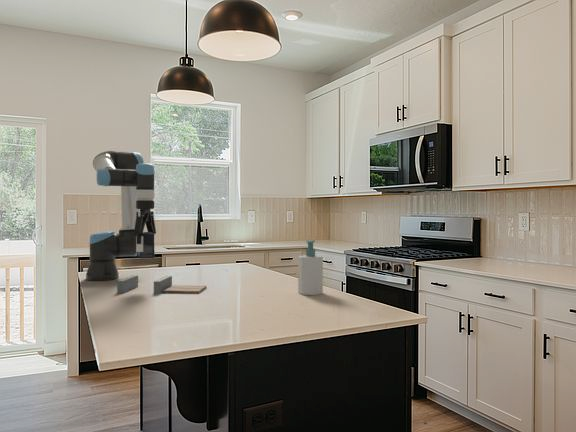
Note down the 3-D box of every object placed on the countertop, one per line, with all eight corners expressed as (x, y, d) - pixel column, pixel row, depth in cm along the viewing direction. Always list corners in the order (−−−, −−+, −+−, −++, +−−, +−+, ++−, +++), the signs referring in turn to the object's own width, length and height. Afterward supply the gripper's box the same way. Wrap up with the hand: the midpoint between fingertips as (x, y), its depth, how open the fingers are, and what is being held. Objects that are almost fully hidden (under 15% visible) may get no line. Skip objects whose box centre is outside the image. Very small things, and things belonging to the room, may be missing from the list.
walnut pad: (173, 287, 205) (173, 285, 205) (206, 288, 204) (206, 285, 204) (163, 293, 192) (163, 290, 192) (198, 293, 191) (198, 291, 191)
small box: (135, 255, 203) (135, 232, 203) (151, 255, 206) (151, 231, 205) (139, 258, 193) (139, 233, 193) (155, 257, 196) (155, 233, 196)
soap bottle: (295, 294, 190) (296, 240, 189) (300, 290, 199) (300, 239, 198) (320, 295, 187) (321, 241, 187) (324, 291, 196) (324, 239, 196)
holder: (132, 286, 208) (132, 275, 208) (171, 286, 207) (171, 275, 207) (117, 293, 192) (117, 281, 192) (159, 293, 191) (159, 281, 191)
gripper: (147, 200, 211) (147, 247, 212) (125, 199, 187) (125, 253, 188) (163, 200, 211) (163, 247, 211) (143, 199, 187) (143, 253, 187)
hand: (145, 250), depth 199 cm, fingers closed on small box, 12 cm apart
